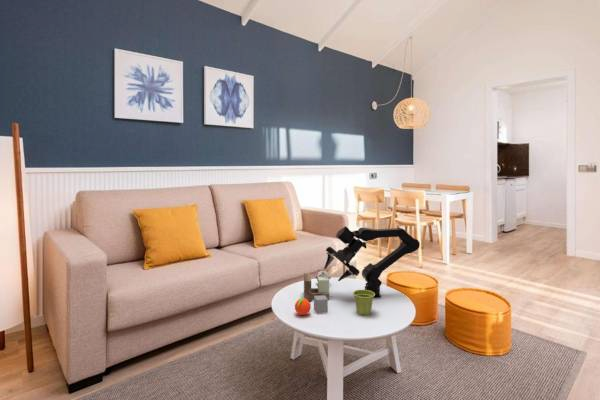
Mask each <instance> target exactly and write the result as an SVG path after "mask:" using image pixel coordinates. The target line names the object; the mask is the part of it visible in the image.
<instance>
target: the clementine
mask: <svg viewBox="0 0 600 400" xmlns="http://www.w3.org/2000/svg"><path fill="white" fill-rule="evenodd" d="M311 308H312V306H311V302H309V301H308V300H307V299H304V297H303V298H302V297H301V298H299V299H298V300H296V302H295V303H294V311H295V312H296V313H297V314H298V315H301V316H305V315H307V314H309V312H310V311H311Z"/></svg>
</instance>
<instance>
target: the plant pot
mask: <svg viewBox="0 0 600 400" xmlns="http://www.w3.org/2000/svg"><path fill="white" fill-rule="evenodd" d="M352 295H353V297H354V301H355V308H356V309H355V310H356V313H357V314H359V315H364V316H368V315H370V314H371V313H372V308H373V300H374V299H375V298H374V296H375V293H374V292H372V291H369V290H365V289H357V290H354V291H353V292H352Z"/></svg>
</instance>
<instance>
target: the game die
mask: <svg viewBox="0 0 600 400" xmlns="http://www.w3.org/2000/svg"><path fill="white" fill-rule="evenodd" d="M317 270H318V272H317V275H316V276H314V277H315V279H316V281H317V282H318V277H328V278H329V280H330V279H332V277H330V275H329V269H327V270H320V269H317Z"/></svg>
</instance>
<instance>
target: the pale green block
mask: <svg viewBox="0 0 600 400" xmlns="http://www.w3.org/2000/svg"><path fill="white" fill-rule="evenodd" d="M317 288H318V293H329V294H330V279H329V278H328V277H318V281H317Z"/></svg>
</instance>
